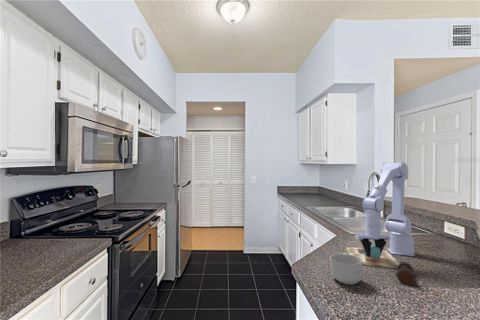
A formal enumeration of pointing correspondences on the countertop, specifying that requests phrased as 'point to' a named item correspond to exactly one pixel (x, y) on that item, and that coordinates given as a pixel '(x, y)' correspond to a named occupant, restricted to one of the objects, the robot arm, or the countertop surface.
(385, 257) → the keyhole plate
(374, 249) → the slider block
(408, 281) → the bolt
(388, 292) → the countertop surface
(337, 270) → the teacup
